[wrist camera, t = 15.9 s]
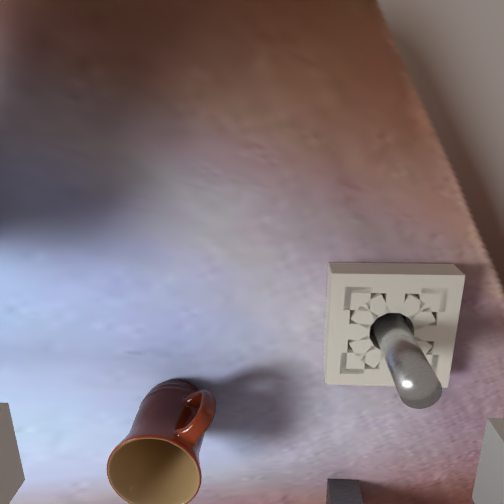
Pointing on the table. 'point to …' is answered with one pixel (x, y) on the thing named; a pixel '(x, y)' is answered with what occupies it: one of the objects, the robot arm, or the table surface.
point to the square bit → (343, 492)
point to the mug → (163, 446)
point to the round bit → (406, 362)
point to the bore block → (382, 302)
